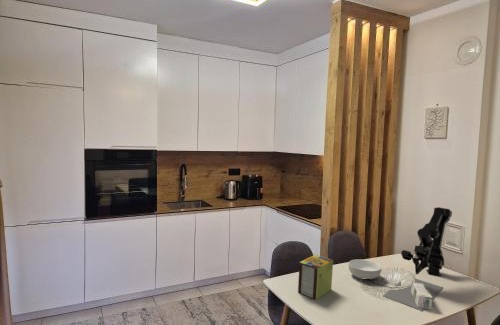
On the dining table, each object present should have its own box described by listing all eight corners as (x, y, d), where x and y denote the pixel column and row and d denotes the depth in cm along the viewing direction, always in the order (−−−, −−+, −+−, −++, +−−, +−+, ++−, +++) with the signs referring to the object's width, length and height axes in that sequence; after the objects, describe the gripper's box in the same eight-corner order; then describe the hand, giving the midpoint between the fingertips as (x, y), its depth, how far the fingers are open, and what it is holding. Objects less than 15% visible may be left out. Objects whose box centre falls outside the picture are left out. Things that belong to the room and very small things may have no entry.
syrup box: (422, 294, 161) (432, 309, 147) (410, 292, 162) (417, 307, 148) (424, 283, 160) (433, 297, 146) (411, 281, 162) (419, 295, 148)
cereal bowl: (380, 274, 183) (381, 262, 183) (379, 286, 168) (380, 273, 168) (349, 268, 191) (350, 256, 190) (345, 279, 175) (346, 266, 175)
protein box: (331, 289, 163) (333, 259, 162) (315, 300, 152) (317, 268, 150) (313, 282, 170) (315, 254, 169) (297, 292, 159) (298, 261, 157)
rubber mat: (407, 276, 182) (407, 275, 182) (442, 287, 170) (443, 287, 170) (382, 296, 158) (382, 295, 158) (422, 311, 146) (422, 310, 146)
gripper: (403, 235, 173) (394, 260, 166) (443, 244, 160) (434, 272, 153) (407, 245, 179) (398, 270, 172) (445, 255, 166) (437, 283, 159)
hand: (416, 273), depth 164 cm, fingers closed
